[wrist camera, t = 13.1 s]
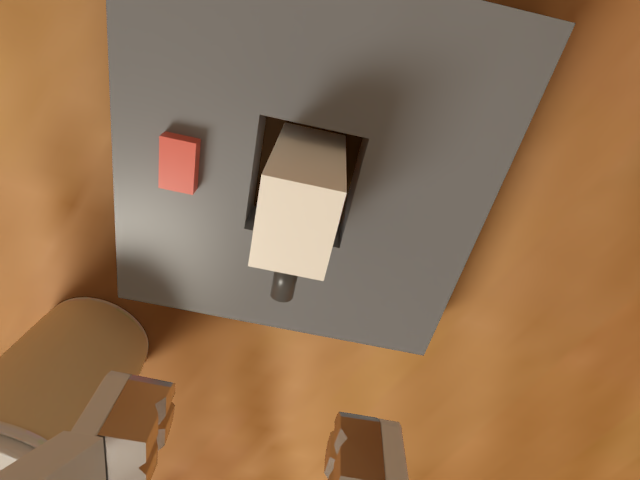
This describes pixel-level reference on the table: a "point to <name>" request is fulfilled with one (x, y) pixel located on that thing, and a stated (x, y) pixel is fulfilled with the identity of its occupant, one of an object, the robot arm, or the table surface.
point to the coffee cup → (63, 370)
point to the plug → (299, 207)
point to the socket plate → (328, 113)
